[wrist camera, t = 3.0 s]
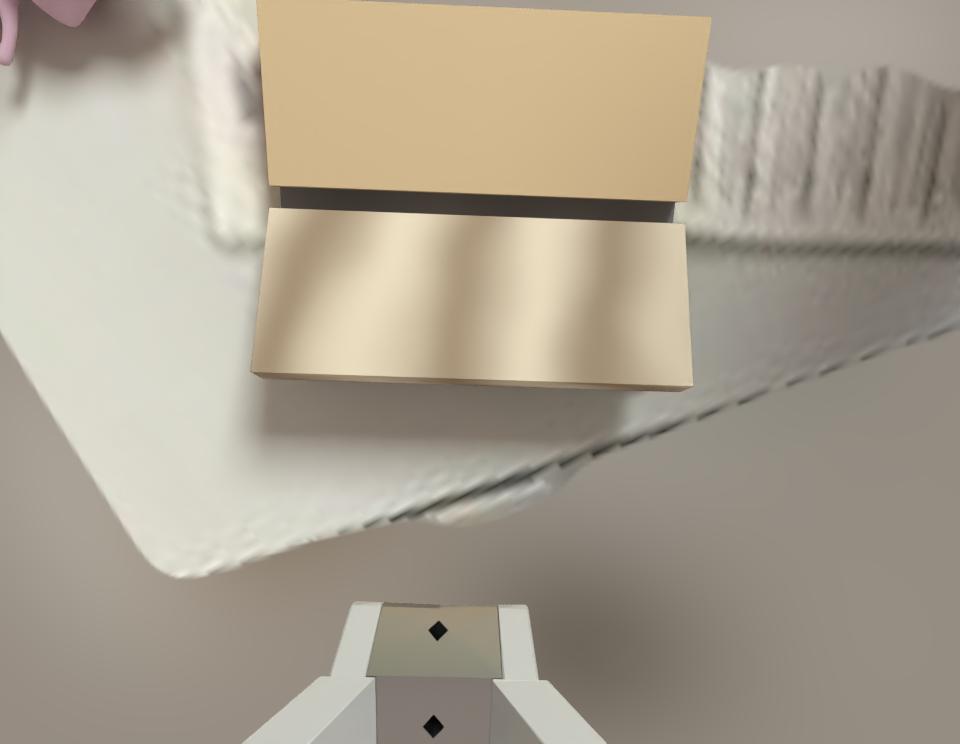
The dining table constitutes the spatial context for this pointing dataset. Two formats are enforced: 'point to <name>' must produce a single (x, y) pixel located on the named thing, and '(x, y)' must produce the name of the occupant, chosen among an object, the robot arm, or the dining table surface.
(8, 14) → the rabbit figure
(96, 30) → the dining table surface
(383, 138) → the laid floor
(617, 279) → the ash plank
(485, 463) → the dining table surface
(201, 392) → the dining table surface
